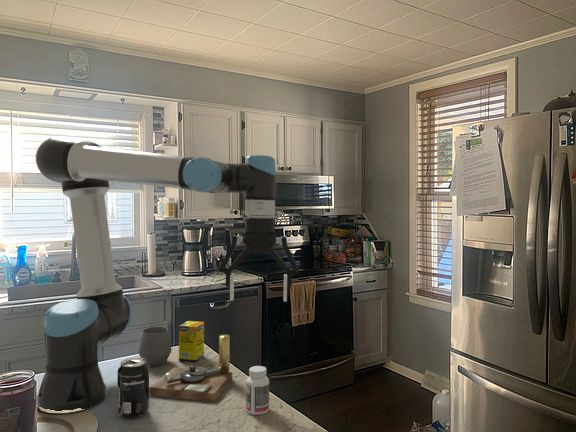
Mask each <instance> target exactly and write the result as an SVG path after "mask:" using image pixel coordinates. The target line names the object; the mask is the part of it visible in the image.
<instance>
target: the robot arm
mask: <svg viewBox="0 0 576 432" xmlns="http://www.w3.org/2000/svg"><path fill="white" fill-rule="evenodd" d="M35 163H36V166H37V168H38V169H37V170H39V171H40V173H41V175H42V176H44V177H45V178H46V179H48V180H50V181H53V182H56V183H59V184H61V189H62V194H63V195H65V196H66V197H67V198H68V199H69V200H70V201H69V202H70V209H71V217H72V226H73V231H74V240H75V247H76V248H75V249H76V255H77V263H78V270H79V277H80V286H81V288H80V289H79V290H78V291H77V293H76V299H69V300H67V301H62V302H59V303H56V304H54V305H52V306H51V307H49V308H48V309H47V311H46V312H45V315H44V323H43V330H44V368H45V369H44V375H43V378H42V380H41V383H40V386H39V389H38V393H37V396H36V406H37V405H38V407H42V408H44V409H50V410H55V411H62V410H74V409H77V408H81V409H85V410H84V411H86V410H89V409H91V408H93V407H96V406H98V405H100V404H101V403H102V402H103V401H104V400H105V399H106V397H107V386H106V384H105V381H104V379H103V375H102V372H101V369H100V366H99V347H100V346H102V345H103V344H105V343H107V342H108V341H110V340H113V339H115V338H117V337H119V336H120V335H121V334H122V333H123V332H124V331H126V330H127V329H128V328H129V326H130V325H131V323H132V320H133V315H134V314H133V313H134V311H133V310H134V309H133V305H132V303H131V301H130V300H129V298H127V296H126V295H125V294H124V292H123V290H124V289H123V286H121V285H120V284H119V283H117V281H116V275H115V268H114V259H113V252H112V245H111V239H110V231H109V230H110V229H109V228H110V227H109V223H108V222H109V221H108V214H107V207H106V199H105V195H106V194H107V193H108V191H109V190H110V184H109V183H110V182H119V183H127V184H136V185H137V184H138V185H142V186H143V185H145V186H152V187H153V186H154V187H163V188H171V189H180V190H188V191H195V192H198V193H209V194H245V202H244V203H245V205H244V214H245V216H247V217H246V218H245V219H244V235H243V236H238V235H236V234H234V235H233V236H232V238H231V244H230V247H229V248H228V250H227V252H226V254H225V255H224V258H223V259H222V261H221V264H220V265H219V267H218V272H220V273H223V274H225V286H226V287H227V288H229V301H230V302H233V301H234V299H235V296H234V295H235V273H233V271H234V270H235V268H237V267H238V265H240V263H242V260H244V259H245V258H246V256H247V255H248V254H249V253H251V254H253V255H254V254H255V255H257V254H262V255H266V254H268V253H269V254H270V256H272V258H273V259H274V260H275V261H276V262H277V264H278V265H279V266H280V268H281V269H282V270H283V271H284V274H283V302H286V303H287V302H288V289H291V288H292V283H293V282H292V279H293V277H292V276H293V275H295V274H298V273H299V272H300V269H299V267H298V264H297V263H296V261H295V258H294V257H293V255H292V252H291V250H290V248H289V246H288V241H287V237H286V236H285V235H283V236H280V237H279V236H278V237H276V236H275V221H276V220H275V218H274V216H275V214H276V208H275V207H276V177H277V173H276V160H275V158H274V157H272V156H271V155H262V154H260V155H259V154H256V155H253V154H252V155H248V156H246V158H245V162H244V163H226V162H225V163H223V162H220V161H215V160H213V159H211V158H209V157H203V156H202V157H200V156H199V157H194V156H193V157H191V156H182V155H175V154H174V155H173V154H164V153H157V152H156V153H154V152H147V151H145V152H144V151H135V150H128V149H127V150H126V149H116V148H109V147H108V148H106V147H104V146H102V145H101V144H97V143H95V142H93V141H90V140H82V139H77V138H71V137H68V136H59V135H58V136H52V137H50V138H47V139H45V140H44V141H43V142H42V143H41V144H40V145H39V146H38V148H37V150H36V153H35ZM241 242H242V243H243V244H244V245H245V246H246V247H245V249H243V251H242V252H240V254H239V255H238V256H237V258H236V259H235V260H234V261H233V262H232V263H231V264H230V266H229V267H227V265H228V263H229V261H230V259H231V257H232V256H233V253H234V251H235V250H236V247H237V245H240V244H241ZM276 243H278V244H279V245H280V246H282V249H283V251H284V253H285V255H286V257H287V259H288V261H289V263H290V266H291V268H290V267H289V266H288V265H287V264H286V263H285V261H284V260H283V258H282V257H281V256H280V255H279V254H278V253H277V251H276V250H275V248H274V245H275V244H276Z"/></svg>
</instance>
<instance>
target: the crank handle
mask: <svg viewBox="0 0 576 432" xmlns="http://www.w3.org/2000/svg"><path fill="white" fill-rule="evenodd" d="M230 336H231V335H229V334H220V335H218V340H219V341H218V367H217V368H213V369H212V368H211V369H208V370H207V368H206V367H204V366H197V365H195V364H191V365H189V367H188V368H187V369H188V370H186V371H183V372H182V373H181V374H180V377H175V378H173V375H172V374H171V373H168V372H166V373H165V374H164V375H163V376H164V380H165V381H166V382H167V383H168V384H169V383H174V382H178V381H182V382H184V383H197V382H201V381H203V380H204V379H205V376H209V375H214V374H219V373H228V372H230V355H231V354H230V352H231V351H230V344H231V343H230ZM206 370H207V371H206Z"/></svg>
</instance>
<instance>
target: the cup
mask: <svg viewBox="0 0 576 432" xmlns="http://www.w3.org/2000/svg"><path fill="white" fill-rule="evenodd" d="M171 353H172V343H171V338H170V332H169V328H168V327H165V326H150V327H146V328H143V329H142V330H141V335H140V341H139V346H138V355H139V358H144V359H146V364H147V365H148V366H149V367H157V366H162V365H164V364H166V362H167V361H168V359H169V357H170V356H171Z"/></svg>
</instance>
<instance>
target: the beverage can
mask: <svg viewBox="0 0 576 432" xmlns="http://www.w3.org/2000/svg"><path fill="white" fill-rule="evenodd" d="M149 387H150V366H148V365H147V364H146V359H144V358H141V357H129V358H126V359H123V360H122V361H120V366H119V367H118V368H117V413H118V415H119V416H120V417H123V418H124V419H129V420H131V419H138V418H141V417H143V416H144V415H145V414H146V413H147V412H149V410H150V395H149Z"/></svg>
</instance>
